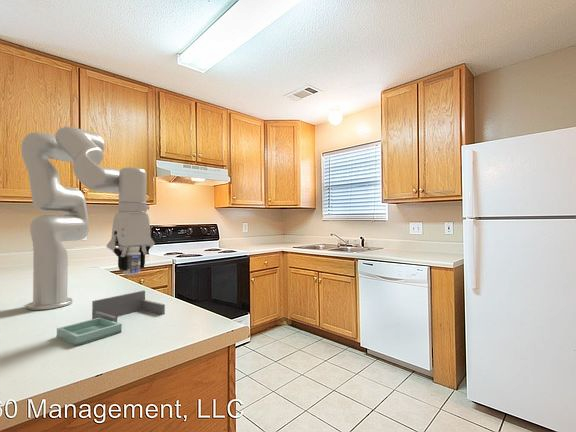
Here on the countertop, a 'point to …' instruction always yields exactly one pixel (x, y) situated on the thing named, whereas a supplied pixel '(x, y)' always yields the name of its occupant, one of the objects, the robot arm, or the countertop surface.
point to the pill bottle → (133, 260)
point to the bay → (124, 306)
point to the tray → (88, 331)
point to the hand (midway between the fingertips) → (131, 268)
